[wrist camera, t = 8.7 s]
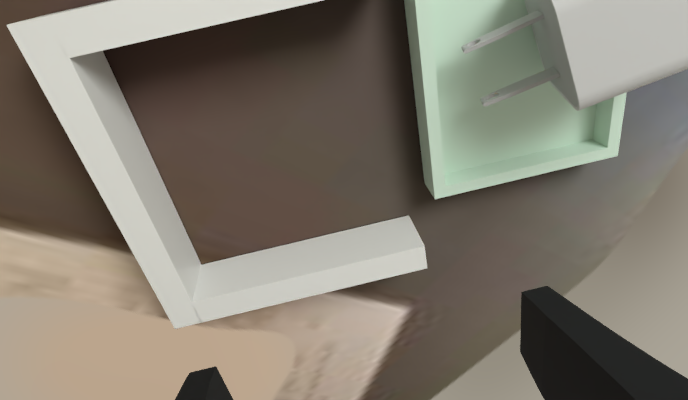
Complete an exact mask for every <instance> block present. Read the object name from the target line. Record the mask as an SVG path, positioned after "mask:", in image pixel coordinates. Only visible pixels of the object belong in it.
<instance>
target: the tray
mask: <svg viewBox="0 0 688 400" xmlns="http://www.w3.org/2000/svg"><path fill="white" fill-rule="evenodd" d="M404 5H405V14H406V23H407V32H408V41H409V50H410V58H411V67H412V76H413V85H414V94H415V103H416V112H417V121H418V130H419V139H420V148H421V157H422V166H423V175H424V183H425V185H426V186H427V188H428V189H429V191H430V193H431V194H432V196H433V197H434V199H439V198H443V197H447V196H451V195H455V194H460V193H464V192H468V191H472V190H476V189H481V188H485V187H489V186H493V185H497V184H502V183H506V182H510V181H514V180H518V179H523V178H527V177H531V176H535V175H539V174H544V173H548V172H552V171H556V170H560V169H565V168H569V167H573V166H577V165H581V164H586V163H590V162H594V161H598V160H602V159H607V158H611V157H615V156H618V150H619V143H620V136H621V129H622V122H623V115H624V107H625V100H626V93H627V92H626V93H623V94H621V95H618V96H616V97H613V98H610V99H608V100H605V101H602V102H600V103H597V104H595V105H592V106H589V107H587V108H584V109H582V110H579V111H577V110H575V109H574V108H573V106H572V105H571V104H570V103H569V102H568V101H567V100H566V99H565V98H564V97H563V96H562V95H561V94H560V93H559V92H558V91H557V90H556V89H555V88H554V87H553V86H552V84H551V83H550V81H548V82H546V83H543V84H541V85H539V86H536V87H534V88H531V89H529V90H526V91H524V92H522V93H519V94H517V95H514V96H512V97H509V98H507V99H504V100H502V101H499V102H496V103H494V104H491V105H488V106H483V104H482V102H481V100H480V99H481V98H482V97H484V96H486V95H488V94H490V93H493V92H495V91H497V90H499V89H501V88H504V87H506V86H508V85H511V84H513V83H515V82H518V81H520V80H522V79H525V78H527V77H530V76H532V75H534V74H537V73H539V72H542V71H544V67H543V64H542V61H541V57H540V54H539V50H538V47H537V43H536V40H535V36H534V33H533V29H532V26H531V25H529V26H527V27H524V28H522V29H520V30H518V31H516V32H514V33H511V34H509V35H507V36H505V37H503V38H500V39H498V40H496V41H494V42H492V43H489V44H487V45H485V46H483V47H480V48H478V49H476V50H473V51H471V52H469V53H466V54H465V53H464V52H463V50H462V48H461V47H462V46H463V45H465V44H467V43H469V42H471V41H473V40H475V39H477V38H479V37H481V36H483V35H485V34H487V33H489V32H492V31H494V30H496V29H498V28H500V27H502V26H504V25H507V24H509V23H511V22H513V21H515V20H517V19H519V18H522V17H524V16H526V15H528V12H527V8H526V5H525V1H524V0H404ZM496 97H497V96H496ZM496 97H493V98H491V99H494V98H496ZM491 99H489V100H491Z"/></svg>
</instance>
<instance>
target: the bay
mask: <svg viewBox="0 0 688 400" xmlns="http://www.w3.org/2000/svg"><path fill="white" fill-rule="evenodd" d="M319 1H323V0H109V1H105V2H100V3H96V4H91V5H87V6H83V7H78V8H74V9H69V10H65V11H60V12H56V13H51V14H47V15H43V16H39V17H35V18H31V19H27V20H24V21H20V22H16V23H12V24H8V25H7V27H8V29H9V31H10V32H11V34H12V36H13V38H14V40H15V41H16V43H17V45H18V47H19V49H20V50H21V52H22V54H23V56H24V58H25V59H26V61H27V63H28V65H29V67H30V68H31V70H32V72H33V74H34V76H35V77H36V79H37V81H38V83H39V85H40V87H41V88H42V90H43V92H44V94H45V96H46V97H47V99H48V101H49V103H50V105H51V106H52V108H53V110H54V112H55V114H56V115H57V117H58V119H59V121H60V123H61V124H62V126H63V128H64V130H65V132H66V133H67V135H68V137H69V139H70V141H71V142H72V144H73V146H74V148H75V150H76V151H77V153H78V155H79V157H80V159H81V160H82V162H83V164H84V166H85V168H86V169H87V171H88V173H89V175H90V177H91V179H92V180H93V182H94V184H95V186H96V188H97V189H98V191H99V193H100V195H101V197H102V198H103V200H104V202H105V204H106V206H107V207H108V209H109V211H110V213H111V215H112V216H113V218H114V220H115V222H116V224H117V225H118V227H119V229H120V231H121V233H122V234H123V236H124V238H125V240H126V242H127V243H128V245H129V247H130V249H131V251H132V252H133V254H134V256H135V258H136V260H137V261H138V263H139V265H140V267H141V269H142V271H143V272H144V274H145V276H146V278H147V280H148V281H149V283H150V285H151V287H152V289H153V290H154V292H155V294H156V296H157V298H158V299H159V301H160V303H161V305H162V307H163V308H164V310H165V312H166V314H167V316H168V317H169V319H170V321H171V323H172V325H173V326H174V328H175V329H177V328H181V327H185V326H190V325H194V324H198V323H202V322H206V321H210V320H214V319H219V318H223V317H227V316H231V315H235V314H239V313H244V312H248V311H252V310H256V309H260V308H264V307H268V306H273V305H277V304H281V303H285V302H289V301H293V300H297V299H302V298H306V297H310V296H314V295H318V294H322V293H326V292H331V291H335V290H339V289H343V288H347V287H351V286H356V285H360V284H364V283H368V282H372V281H376V280H380V279H385V278H389V277H393V276H397V275H401V274H405V273H409V272H414V271H418V270H422V269H426V268H427V262H426V254H425V246H424V244H423V242H422V240H421V238H420V236H419V234H418V232H417V230H416V228H415V226H414V224H413V222H412V220H411V219H410V217H409V215H408V216H404V217H400V218H396V219H392V220H387V221H383V222H379V223H375V224H371V225H366V226H362V227H358V228H354V229H350V230H345V231H341V232H337V233H333V234H329V235H324V236H320V237H316V238H312V239H308V240H303V241H299V242H295V243H291V244H287V245H282V246H278V247H274V248H270V249H266V250H261V251H257V252H253V253H249V254H245V255H240V256H236V257H232V258H228V259H224V260H219V261H215V262H211V263H207V264H203V265H201V263H200V261H199V259H198V256H197V254H196V252H195V250H194V248H193V246H192V243H191V241H190V239H189V237H188V235H187V233H186V230H185V228H184V226H183V224H182V222H181V220H180V217H179V215H178V213H177V211H176V209H175V207H174V204H173V202H172V200H171V198H170V196H169V194H168V191H167V189H166V187H165V185H164V183H163V181H162V178H161V176H160V174H159V172H158V170H157V168H156V165H155V163H154V161H153V159H152V157H151V155H150V152H149V150H148V148H147V146H146V144H145V141H144V139H143V137H142V135H141V133H140V131H139V128H138V126H137V124H136V122H135V120H134V118H133V115H132V113H131V111H130V109H129V107H128V105H127V102H126V100H125V98H124V96H123V94H122V92H121V89H120V87H119V85H118V83H117V81H116V79H115V76H114V74H113V72H112V70H111V68H110V66H109V63H108V61H107V59H106V57H105V55H104V53H103V50H107V49H112V48H116V47H121V46H125V45H129V44H134V43H138V42H143V41H147V40H151V39H156V38H160V37H165V36H169V35H173V34H178V33H182V32H187V31H191V30H195V29H200V28H204V27H209V26H213V25H217V24H222V23H226V22H231V21H235V20H239V19H244V18H248V17H253V16H257V15H261V14H266V13H270V12H275V11H279V10H283V9H288V8H292V7H297V6H301V5H305V4H310V3H314V2H319Z"/></svg>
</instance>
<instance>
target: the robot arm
mask: <svg viewBox="0 0 688 400" xmlns="http://www.w3.org/2000/svg"><path fill="white" fill-rule="evenodd" d="M520 352H521V354H522V356H523V358H524V360H525V362H526V364H527V367H528V368H529V371H530V373H531V375H532V377H533V379H534V381H535V383H536V385H537V387H538V389H539V390H540V392H541V394H542V396H543V398H544V399H545V400H688V379H687V378H686V377H684V376H682V375H681V374H679V373H677V372H676V371H674V370H672V369H671V368H669V367H667V366H666V365H664V364H663V363H661V362H660V361H658V360H656V359H655V358H653V357H652V356H650V355H648V354H647V353H645V352H644V351H642V350H641V349H639V348H637V347H636V346H635V345H633V344H632V343H630V342H628V341H627V340H625V339H624V338H622V337H621V336H619V335H618V334H616V333H615V332H613V331H612V330H610V329H609V328H607V327H606V326H604V325H603V324H602V323H600V322H599V321H597V320H596V319H594V318H593V317H591V316H590V315H588V314H587V313H586V312H584V311H583V310H581V309H580V308H578V307H577V306H576V305H574V304H573V303H571V302H570V301H568V300H567V299H566V298H564V297H563V296H561V295H560V294H558V293H557V292H556V291H554V290H553V289H551V288H550V287H548V286H545V287H541V288H537V289H532V290H528V291H524V292H522V298H521V345H520ZM175 400H233V398H232V396H231V394H230V393H229V391H228V389H227V387H226V385H225V383H224V381H223V379H222V377H221V375H220V374H219V371H218V370H217V367H212V368H208V369H204V370H199V371H195V372H191V373H189V375H188V377H187V378H186V380H185V382H184V384H183V385H182V387H181V389H180V391H179V393H178V395H177V397H176V399H175Z"/></svg>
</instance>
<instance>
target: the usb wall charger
mask: <svg viewBox="0 0 688 400" xmlns="http://www.w3.org/2000/svg"><path fill="white" fill-rule="evenodd" d="M524 1H525V5H526V8H527V12H528V15H526V16H524V17H522V18H519V19H517V20H515V21H513V22H511V23H509V24H507V25H504V26H502V27H500V28H498V29H496V30H494V31H492V32H489V33H487V34H485V35H483V36H481V37H479V38H477V39H475V40H473V41H471V42H469V43H467V44H465V45H463V46H462V47H461V48H462V50H463V52H464V53H465V54H466V53H469V52H471V51H473V50H476V49H478V48H480V47H483V46H485V45H487V44H489V43H492V42H494V41H496V40H498V39H500V38H503V37H505V36H507V35H509V34H511V33H514V32H516V31H518V30H520V29H522V28H524V27H527V26H529V25H531V26H532V29H533V33H534V36H535V40H536V43H537V47H538V50H539V54H540V57H541V61H542V64H543V67H544V71H542V72H539V73H537V74H534V75H532V76H530V77H527V78H525V79H522V80H520V81H518V82H515V83H513V84H511V85H508V86H506V87H504V88H501V89H499V90H497V91H495V92H493V93H490V94H488V95H486V96H484V97H482V98H481V99H480V100H481V102H482V104H483V106H488V105H491V104H494V103H496V102H499V101H502V100H504V99H507V98H509V97H512V96H514V95H517V94H519V93H522V92H524V91H526V90H529V89H531V88H534V87H536V86H539V85H541V84H543V83H546V82H548V81H550V83H551V84H552V86H553V87H554V88H555V89H556V90H557V91H558V92H559V93H560V94H561V95H562V96H563V97H564V98H565V99H566V100H567V101H568V102H569V103H570V104H571V105H572V106H573V108H574V109H575V110H577V111H579V110H582V109H584V108H587V107H589V106H592V105H595V104H597V103H600V102H602V101H605V100H608V99H610V98H613V97H616V96H618V95H621V94H623V93H626V92H629V91H631V90H634V89H636V88H639V87H642V86H644V85H647V84H649V83H652V82H655V81H657V80H660V79H663V78H665V77H668V76H670V75H673V74H676V73H678V72H681V71H683V70H686V69H688V0H524ZM496 96H497V97H496ZM493 97H496V98H494V99H491V98H493ZM489 99H491V100H489Z"/></svg>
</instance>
